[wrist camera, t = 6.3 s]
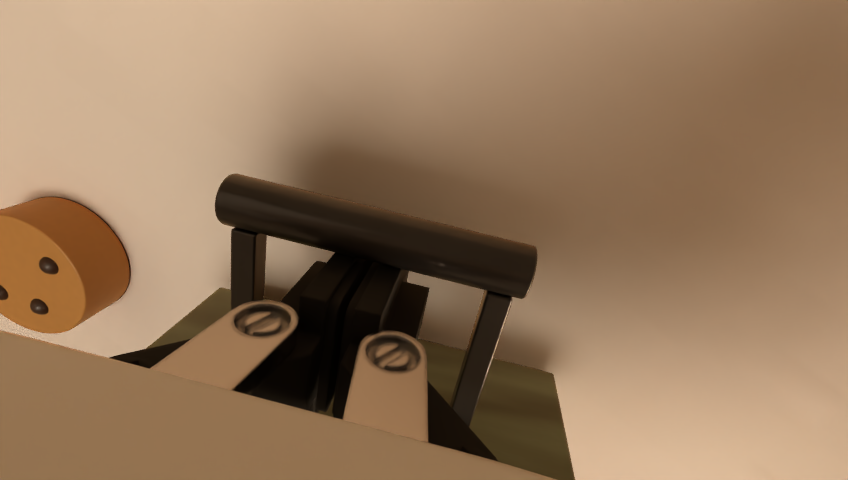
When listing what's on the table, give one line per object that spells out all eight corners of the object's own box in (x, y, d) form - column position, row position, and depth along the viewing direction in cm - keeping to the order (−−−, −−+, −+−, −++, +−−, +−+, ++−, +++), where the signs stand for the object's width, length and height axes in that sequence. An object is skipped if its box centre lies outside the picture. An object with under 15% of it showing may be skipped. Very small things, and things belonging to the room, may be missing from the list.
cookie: (6, 183, 17) (-66, 201, 15) (124, 213, 17) (68, 236, 15) (30, 289, 19) (-30, 319, 17) (135, 317, 19) (87, 351, 17)
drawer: (219, 117, 14) (-4, 161, 8) (622, 212, 13) (742, 347, 7) (221, 513, 22) (118, 686, 16) (463, 584, 22) (453, 792, 15)
